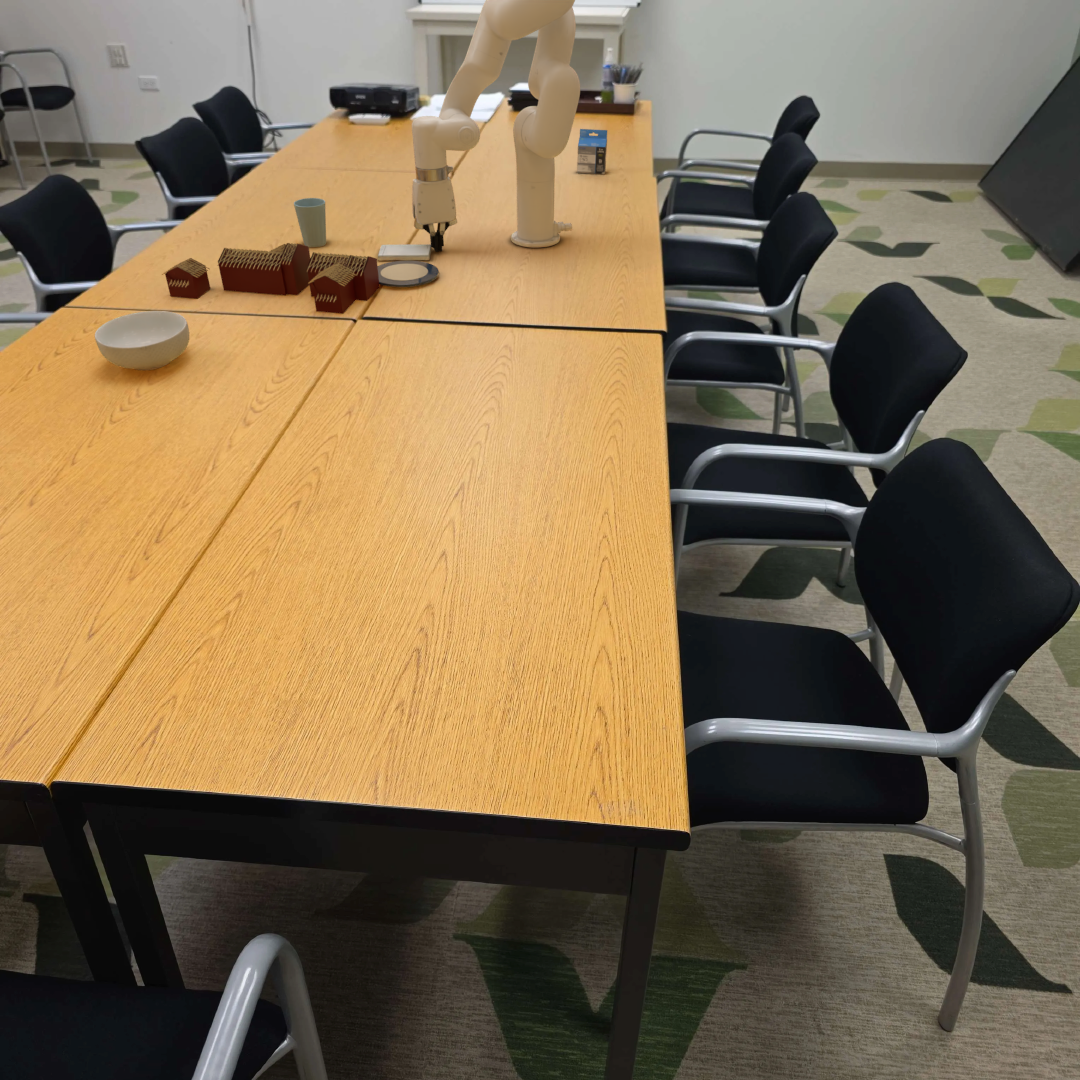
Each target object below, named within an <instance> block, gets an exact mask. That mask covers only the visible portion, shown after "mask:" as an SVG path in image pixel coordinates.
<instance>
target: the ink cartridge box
mask: <svg viewBox="0 0 1080 1080" xmlns="http://www.w3.org/2000/svg"><path fill="white" fill-rule="evenodd" d="M593 133H594V135H590V134H593ZM607 150H608V130H607V129H594V128H593V129H591V128H580V129H579V137H578V143H577V157H576V158H577V162H576V173H577V174H591V175H592V174H593V175H605V174H606V170H607V152H608V151H607Z"/></svg>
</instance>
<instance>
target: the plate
mask: <svg viewBox="0 0 1080 1080" xmlns="http://www.w3.org/2000/svg"><path fill="white" fill-rule="evenodd" d="M377 266H378V276H379V286H385V287H390V288H391V287H392V288H413V287H418V286H423V285H426V284H429V283H432V282H434V281H435V280H436V279H437V278H439V275H440V271H439V268H438V267H437V266H435V265H434V264H432V263H429V262H425V261H422V260H393V261H388V262H386V263H382V264H378V265H377Z"/></svg>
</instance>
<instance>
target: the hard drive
mask: <svg viewBox="0 0 1080 1080" xmlns="http://www.w3.org/2000/svg"><path fill="white" fill-rule="evenodd" d="M432 249H433V248H432V247H431V243H429V244H427V243H425V244H424V243H423V244H421V243H420V244H417V243H415V244H413V243H412V244H411V243H410V244H381V245H380V247H379V251H378V254H377V261H378V262H379V261H380V262H381V261H430V259H431V255H432Z"/></svg>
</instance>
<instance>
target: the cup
mask: <svg viewBox="0 0 1080 1080" xmlns="http://www.w3.org/2000/svg"><path fill="white" fill-rule="evenodd" d="M293 206H294V211H295V214H296V218H297V222H298V226H299V229H300V234H301V238H302V241H303V245H305V246H308V247H309V248H320V247H323V246H326V244H327V220H326V219H327V217H326V213H327V212H326V200H325V199H323V198H319V197H305V198H300V199H297V200H295V201H294V202H293Z"/></svg>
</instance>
